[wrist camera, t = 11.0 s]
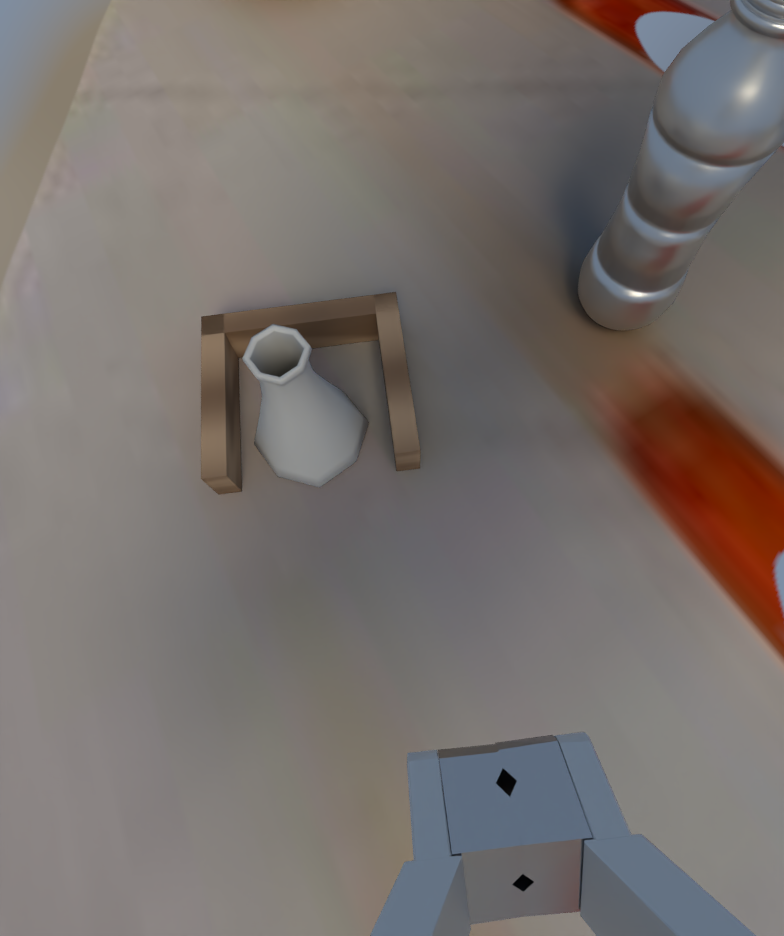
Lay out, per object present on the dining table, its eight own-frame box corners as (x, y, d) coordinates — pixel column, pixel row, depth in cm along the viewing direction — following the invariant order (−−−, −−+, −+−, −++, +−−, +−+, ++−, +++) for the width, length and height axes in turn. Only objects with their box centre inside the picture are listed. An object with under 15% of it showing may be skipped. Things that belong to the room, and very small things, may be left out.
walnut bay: (217, 342, 38) (201, 316, 35) (397, 319, 38) (395, 292, 35) (218, 494, 34) (200, 478, 31) (419, 468, 34) (420, 450, 31)
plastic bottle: (561, 331, 37) (710, -4, 19) (578, 257, 40) (727, -110, 21) (655, 352, 37) (910, 23, 18) (667, 275, 39) (905, -91, 20)
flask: (302, 369, 37) (265, 269, 28) (388, 420, 36) (379, 333, 26) (236, 449, 35) (172, 371, 26) (323, 507, 34) (288, 446, 24)
